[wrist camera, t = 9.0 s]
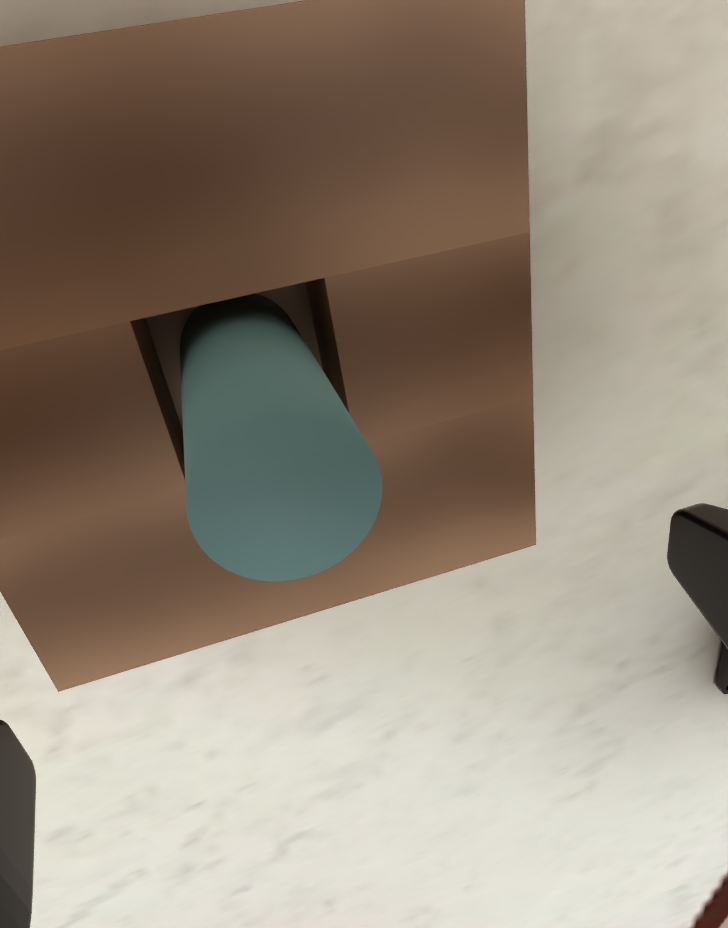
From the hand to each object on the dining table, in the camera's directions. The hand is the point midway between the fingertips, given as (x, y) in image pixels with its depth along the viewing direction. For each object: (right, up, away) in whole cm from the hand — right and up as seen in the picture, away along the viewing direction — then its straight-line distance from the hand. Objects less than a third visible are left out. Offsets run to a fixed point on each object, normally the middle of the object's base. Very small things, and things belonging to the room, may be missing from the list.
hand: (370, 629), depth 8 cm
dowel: (-3, +5, +9) cm, 11 cm away
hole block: (-4, +6, +10) cm, 12 cm away
